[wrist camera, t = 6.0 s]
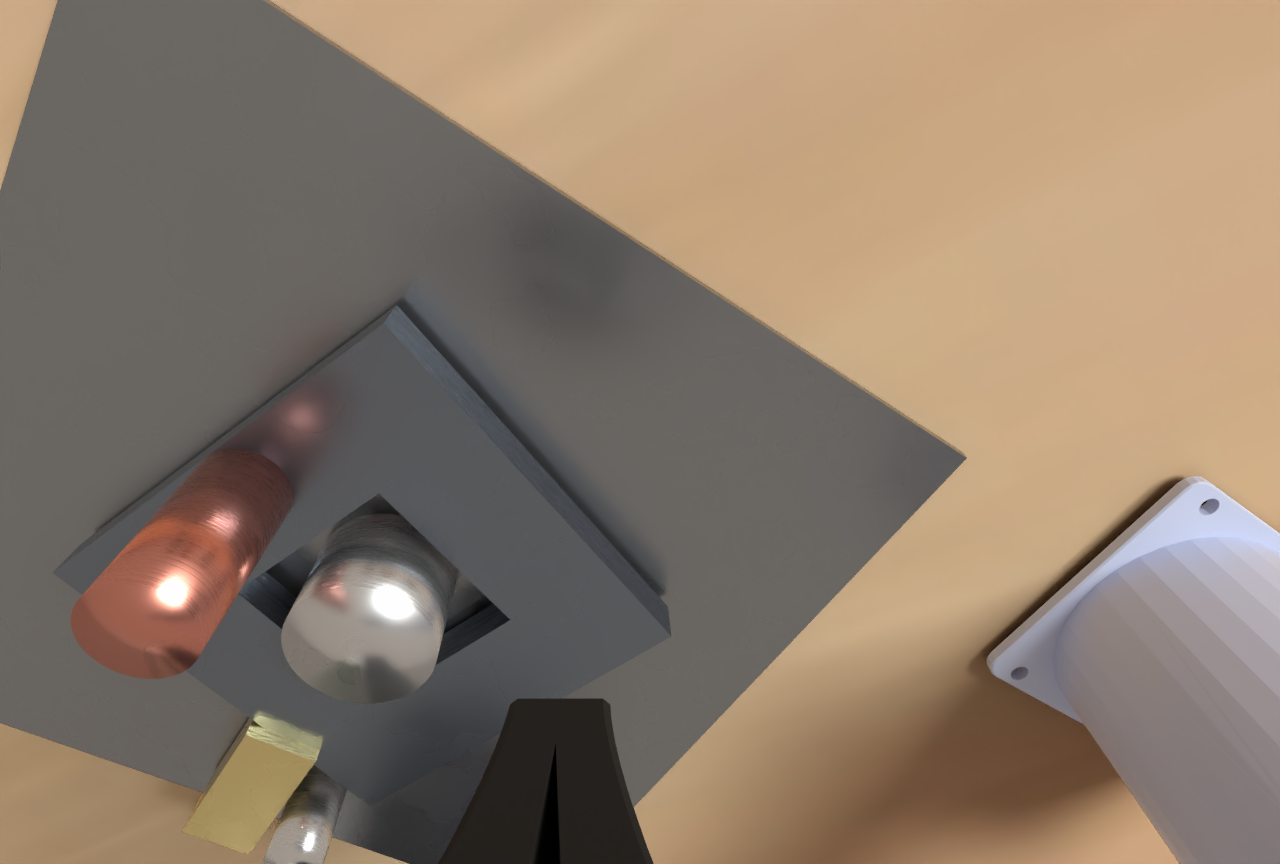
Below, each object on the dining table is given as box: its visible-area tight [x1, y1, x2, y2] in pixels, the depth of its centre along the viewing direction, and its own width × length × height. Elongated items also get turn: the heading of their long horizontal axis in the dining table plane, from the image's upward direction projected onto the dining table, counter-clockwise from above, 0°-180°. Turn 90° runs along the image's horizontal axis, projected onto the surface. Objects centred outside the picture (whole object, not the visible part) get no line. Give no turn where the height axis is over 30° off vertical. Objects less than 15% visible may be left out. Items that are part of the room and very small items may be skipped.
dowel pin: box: [264, 765, 347, 864], centre depth 24 cm, size 2×2×3 cm
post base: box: [0, 0, 966, 864], centre depth 20 cm, size 22×22×3 cm
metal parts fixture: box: [53, 305, 671, 855], centre depth 19 cm, size 15×11×6 cm
